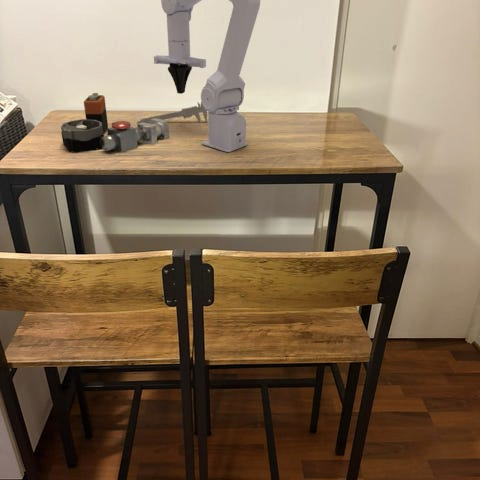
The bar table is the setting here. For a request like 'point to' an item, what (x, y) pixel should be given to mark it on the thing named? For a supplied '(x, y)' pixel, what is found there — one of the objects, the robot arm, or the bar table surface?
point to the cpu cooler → (82, 135)
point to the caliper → (179, 114)
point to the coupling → (154, 130)
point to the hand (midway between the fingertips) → (181, 92)
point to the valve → (121, 137)
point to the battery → (96, 109)
